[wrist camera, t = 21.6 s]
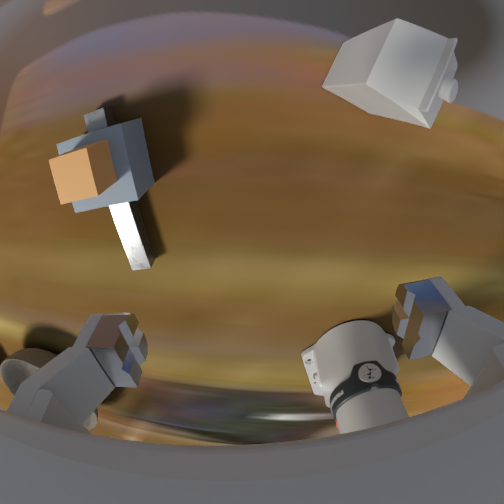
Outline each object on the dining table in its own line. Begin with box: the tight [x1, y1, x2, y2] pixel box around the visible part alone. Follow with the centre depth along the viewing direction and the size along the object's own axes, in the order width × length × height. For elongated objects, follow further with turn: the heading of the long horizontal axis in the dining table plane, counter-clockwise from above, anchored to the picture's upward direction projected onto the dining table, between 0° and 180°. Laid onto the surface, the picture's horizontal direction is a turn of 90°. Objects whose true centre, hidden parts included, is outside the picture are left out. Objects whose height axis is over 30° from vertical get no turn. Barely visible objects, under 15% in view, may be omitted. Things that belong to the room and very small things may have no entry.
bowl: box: [0, 348, 98, 430], centre depth 55 cm, size 28×28×10 cm
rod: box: [84, 106, 156, 270], centre depth 37 cm, size 23×3×3 cm, turn 9°
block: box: [49, 139, 117, 204], centre depth 28 cm, size 5×5×5 cm
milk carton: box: [322, 19, 458, 128], centre depth 23 cm, size 7×7×19 cm
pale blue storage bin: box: [57, 118, 155, 213], centre depth 33 cm, size 9×9×7 cm
